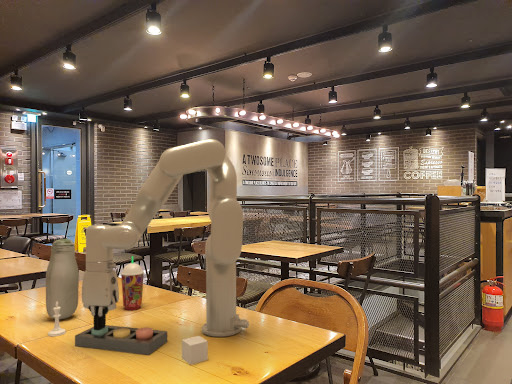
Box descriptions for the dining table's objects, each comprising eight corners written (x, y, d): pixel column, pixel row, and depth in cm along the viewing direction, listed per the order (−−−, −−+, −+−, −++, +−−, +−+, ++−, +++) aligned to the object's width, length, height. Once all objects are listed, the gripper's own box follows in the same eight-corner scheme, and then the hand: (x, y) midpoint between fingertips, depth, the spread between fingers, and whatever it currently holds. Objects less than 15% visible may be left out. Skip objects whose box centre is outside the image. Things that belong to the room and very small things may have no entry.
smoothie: (136, 311, 141) (136, 258, 141) (116, 310, 142) (116, 257, 142) (147, 305, 149) (147, 254, 149) (128, 304, 150) (128, 254, 151)
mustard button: (133, 337, 111) (133, 329, 111) (123, 343, 107) (123, 334, 107) (119, 336, 113) (119, 327, 113) (109, 342, 108) (109, 333, 108)
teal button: (111, 335, 113) (111, 326, 113) (101, 341, 109) (101, 332, 109) (98, 334, 115) (98, 325, 115) (87, 339, 110) (87, 330, 110)
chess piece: (46, 337, 115) (46, 304, 116) (50, 331, 120) (50, 300, 120) (63, 335, 117) (63, 303, 117) (67, 330, 122) (67, 298, 122)
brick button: (155, 337, 109) (155, 328, 109) (147, 343, 105) (147, 333, 105) (141, 335, 111) (141, 326, 111) (132, 341, 106) (132, 332, 106)
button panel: (167, 341, 111) (167, 331, 111) (148, 355, 102) (148, 343, 102) (98, 333, 118) (98, 324, 118) (74, 346, 108) (74, 335, 108)
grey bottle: (62, 324, 127) (62, 241, 128) (39, 321, 131) (39, 240, 131) (84, 315, 137) (84, 238, 137) (62, 312, 140) (62, 237, 141)
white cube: (198, 354, 102) (198, 335, 103) (207, 360, 98) (207, 341, 99) (181, 358, 100) (181, 339, 100) (190, 365, 96) (190, 345, 96)
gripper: (129, 265, 114) (129, 326, 113) (87, 263, 118) (87, 322, 117) (113, 270, 106) (113, 335, 106) (69, 267, 111) (69, 330, 110)
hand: (99, 328), depth 112 cm, fingers closed
